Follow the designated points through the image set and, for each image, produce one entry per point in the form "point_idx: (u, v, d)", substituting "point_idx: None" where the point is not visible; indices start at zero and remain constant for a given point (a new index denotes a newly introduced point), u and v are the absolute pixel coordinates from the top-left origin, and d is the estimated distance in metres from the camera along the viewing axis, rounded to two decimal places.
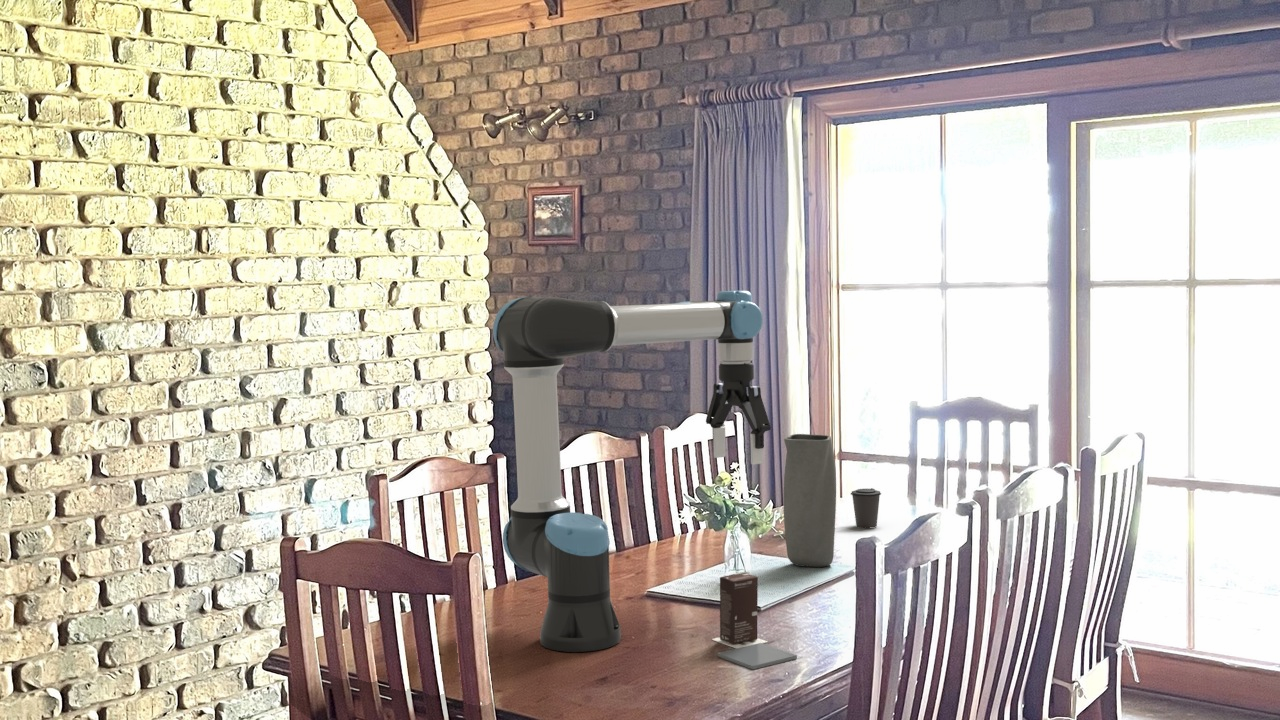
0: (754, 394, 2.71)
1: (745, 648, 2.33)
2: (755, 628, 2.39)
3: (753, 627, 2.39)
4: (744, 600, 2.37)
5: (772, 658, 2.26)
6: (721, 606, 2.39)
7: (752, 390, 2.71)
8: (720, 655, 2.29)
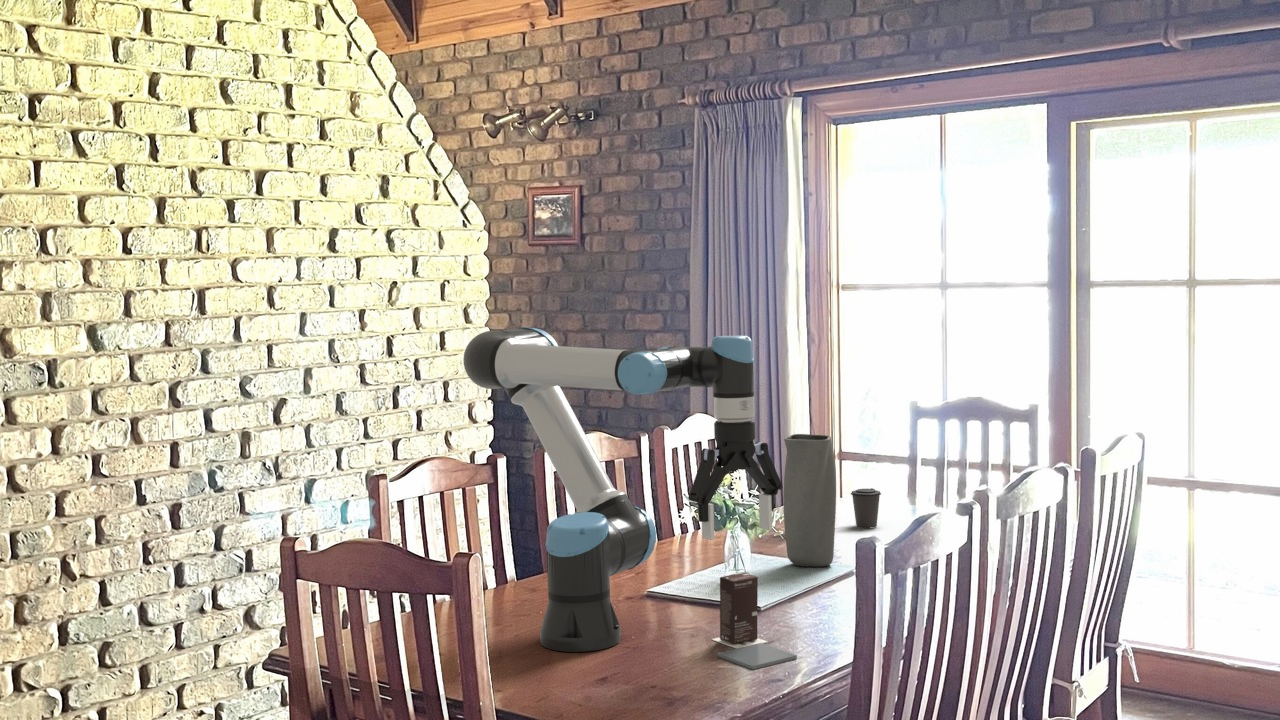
0: (703, 458, 2.34)
1: (745, 648, 2.33)
2: (755, 628, 2.39)
3: (753, 627, 2.39)
4: (744, 600, 2.37)
5: (772, 658, 2.26)
6: (721, 606, 2.39)
7: (702, 453, 2.34)
8: (720, 655, 2.29)
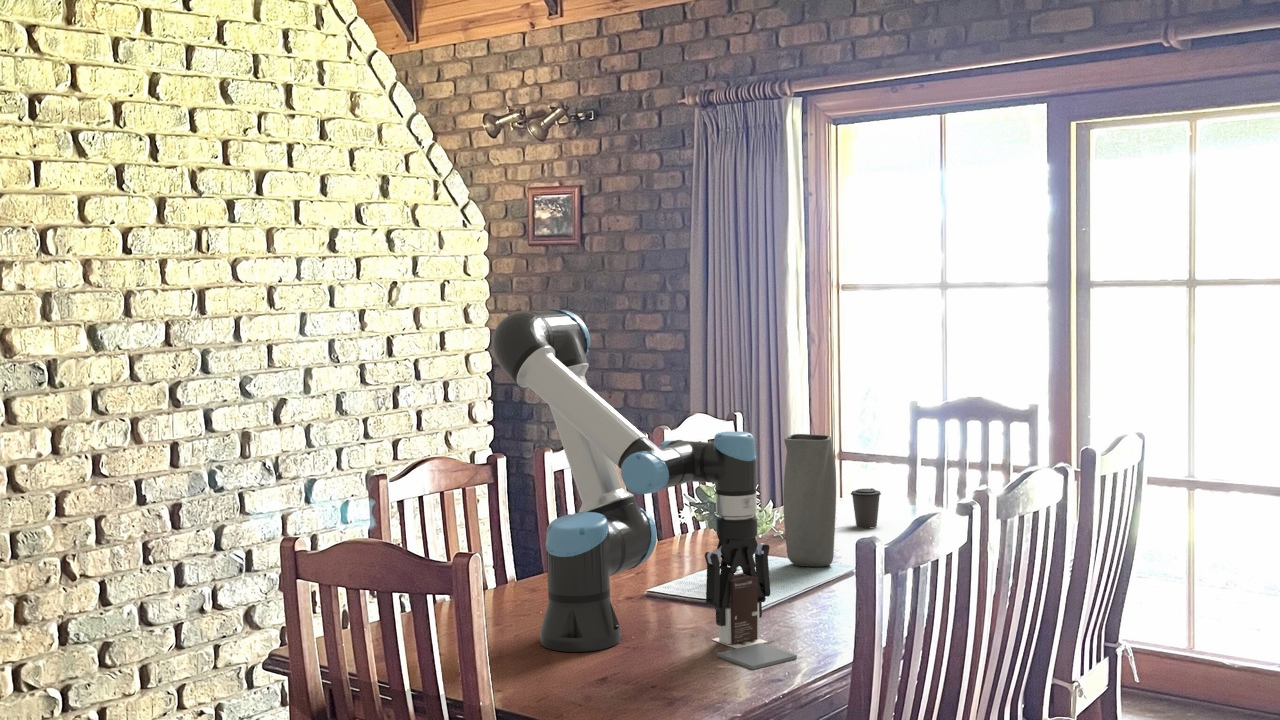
0: (708, 562, 2.35)
1: (745, 648, 2.33)
2: (755, 628, 2.39)
3: (753, 627, 2.39)
4: (744, 600, 2.37)
5: (772, 658, 2.26)
6: None
7: (706, 558, 2.35)
8: (720, 655, 2.29)
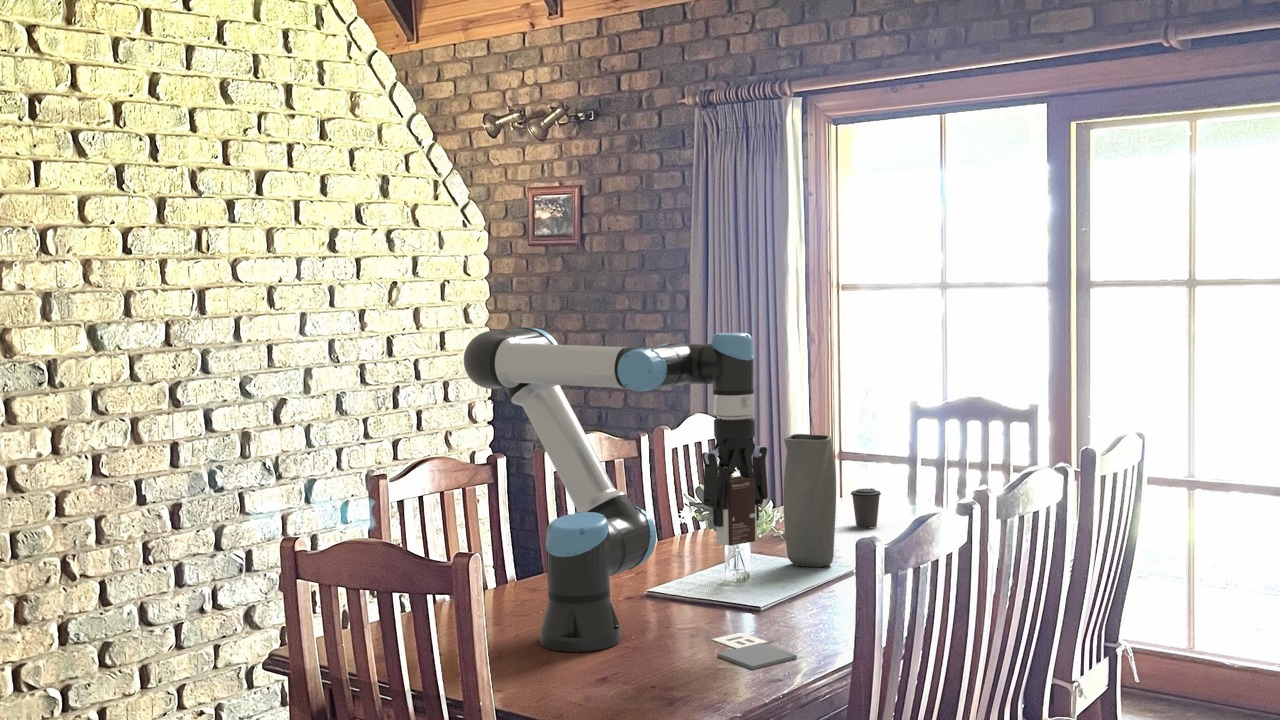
0: (706, 462, 2.34)
1: (745, 648, 2.33)
2: (753, 530, 2.38)
3: (750, 529, 2.37)
4: (741, 501, 2.36)
5: (772, 658, 2.26)
6: None
7: (703, 458, 2.34)
8: (720, 655, 2.29)
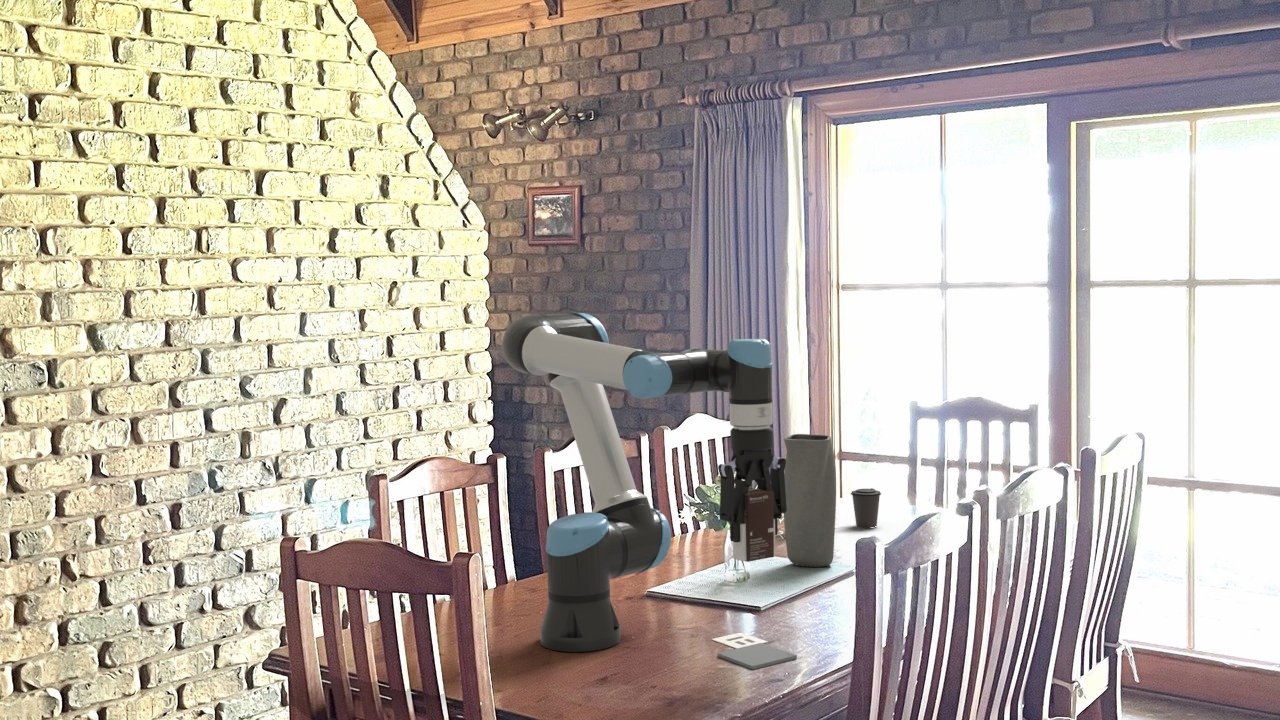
0: (722, 475, 2.24)
1: (745, 648, 2.33)
2: (771, 545, 2.27)
3: (769, 544, 2.27)
4: (759, 515, 2.25)
5: (772, 658, 2.26)
6: None
7: (719, 470, 2.24)
8: (720, 655, 2.29)
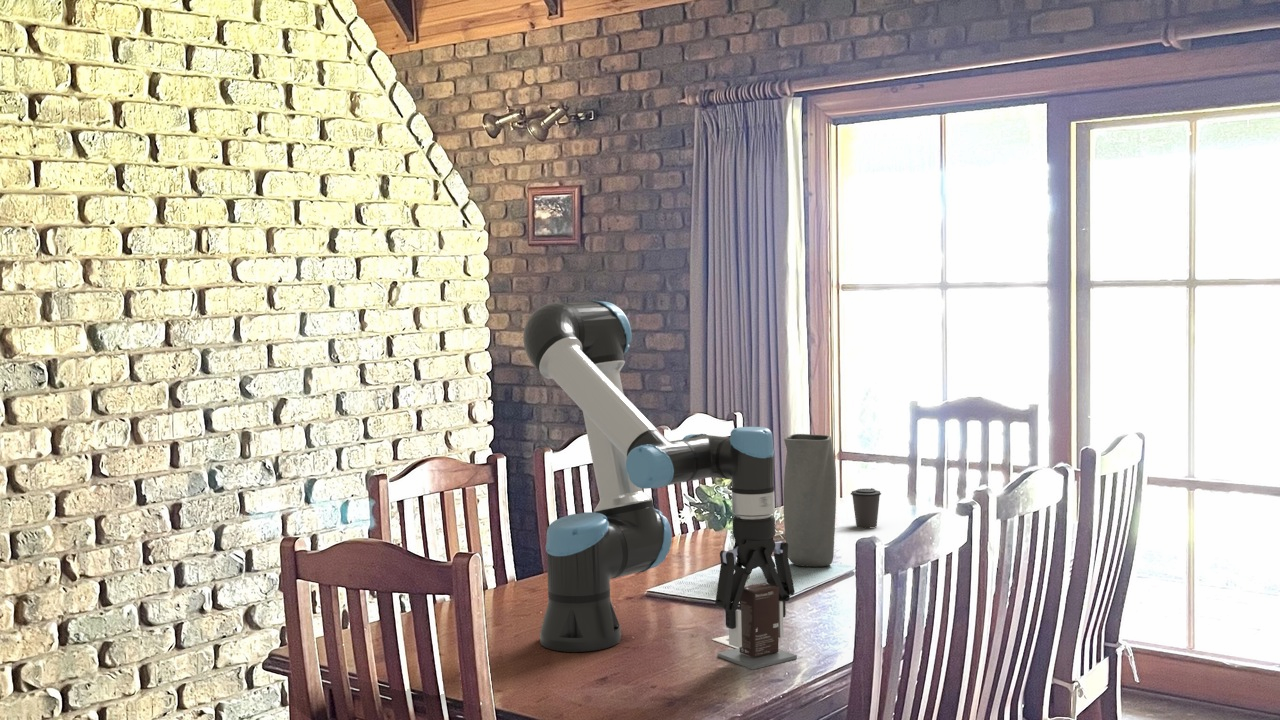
0: (723, 561, 2.24)
1: None
2: (776, 640, 2.29)
3: (774, 640, 2.29)
4: (765, 611, 2.27)
5: (772, 658, 2.26)
6: (741, 618, 2.28)
7: (721, 556, 2.25)
8: (720, 655, 2.29)
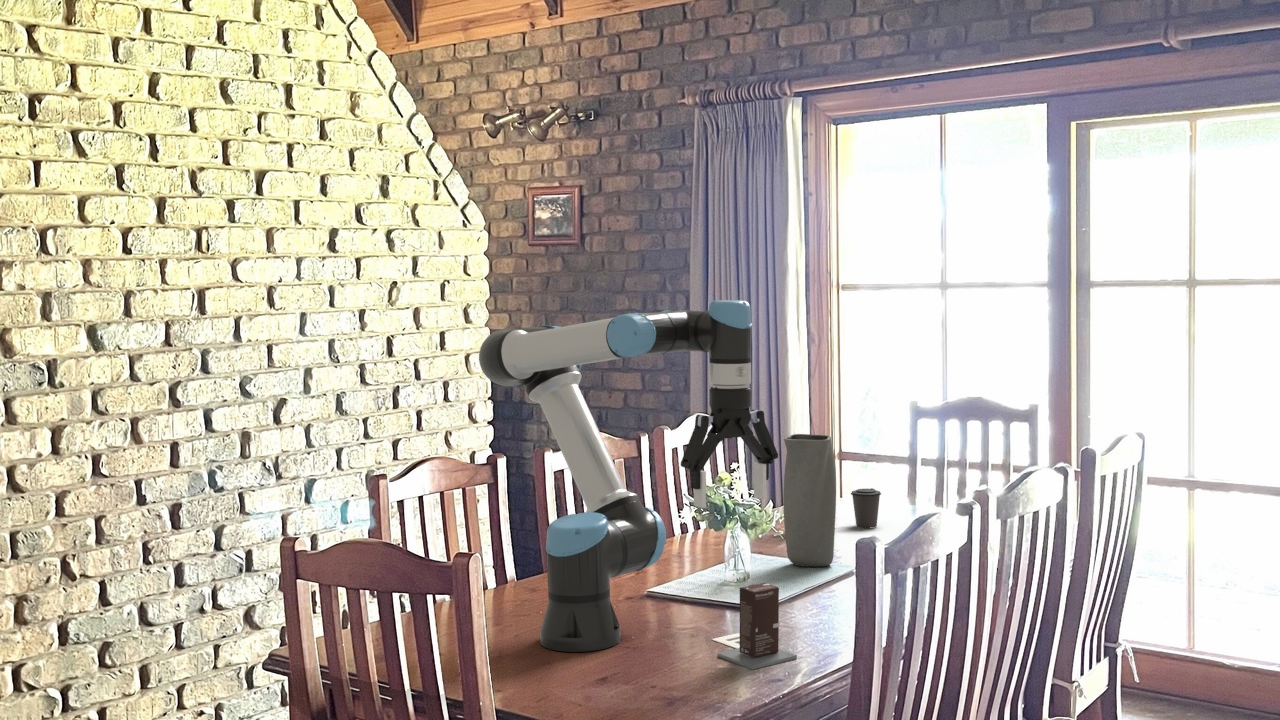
0: (697, 424, 2.29)
1: None
2: (776, 641, 2.29)
3: (774, 640, 2.29)
4: (765, 611, 2.27)
5: (772, 658, 2.26)
6: (741, 618, 2.28)
7: (696, 419, 2.30)
8: (720, 655, 2.29)
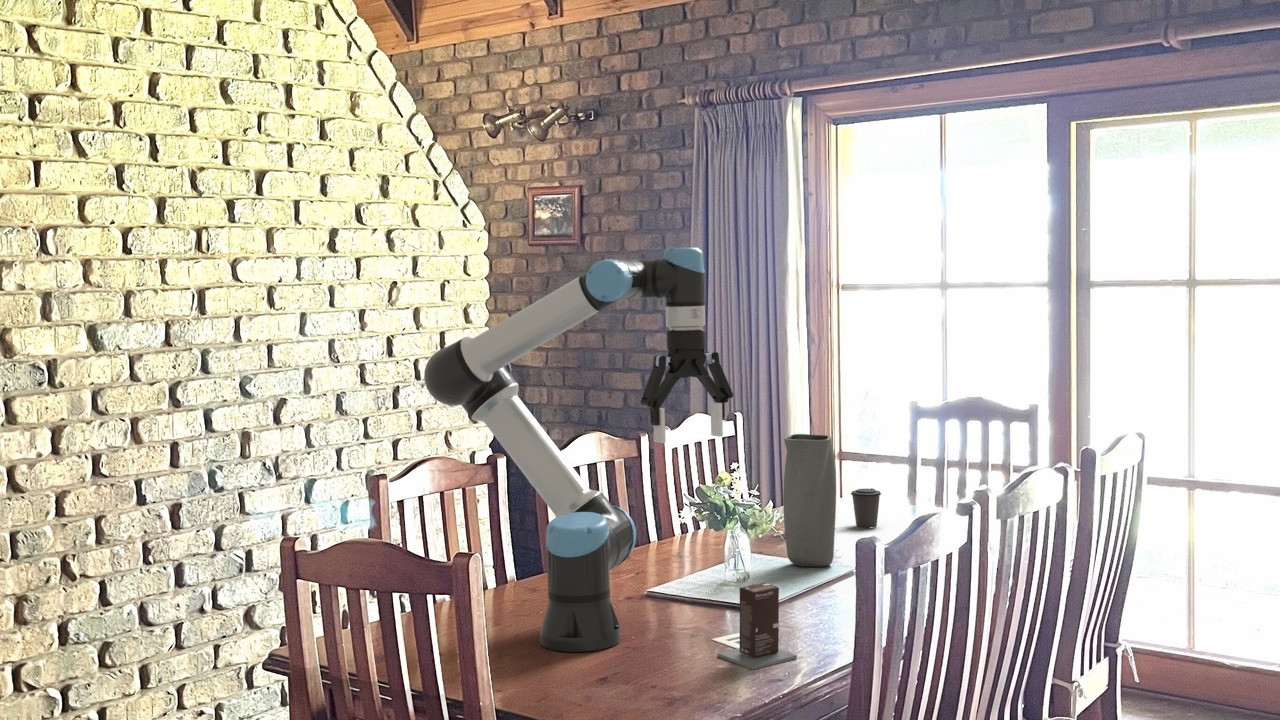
0: (655, 364, 2.43)
1: None
2: (776, 641, 2.29)
3: (774, 640, 2.29)
4: (765, 611, 2.27)
5: (772, 658, 2.26)
6: (741, 618, 2.28)
7: (654, 359, 2.43)
8: (720, 655, 2.29)
